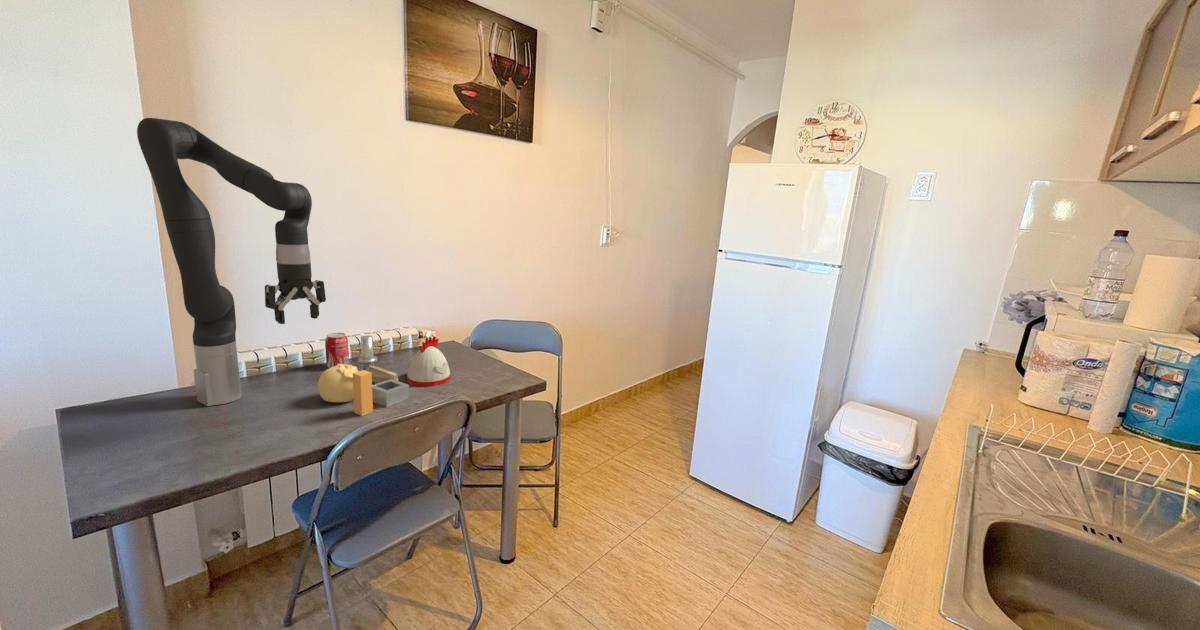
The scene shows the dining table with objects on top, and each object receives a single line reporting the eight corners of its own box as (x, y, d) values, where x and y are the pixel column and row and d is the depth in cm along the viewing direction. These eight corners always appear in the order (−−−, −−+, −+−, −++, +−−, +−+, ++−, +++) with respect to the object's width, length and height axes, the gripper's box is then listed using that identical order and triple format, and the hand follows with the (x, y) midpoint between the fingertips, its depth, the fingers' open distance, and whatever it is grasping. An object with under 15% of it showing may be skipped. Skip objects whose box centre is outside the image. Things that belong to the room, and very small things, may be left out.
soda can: (329, 364, 166) (327, 332, 164) (351, 363, 168) (349, 332, 166) (324, 371, 160) (322, 337, 157) (347, 370, 162) (345, 337, 159)
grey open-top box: (386, 407, 137) (386, 392, 136) (369, 400, 140) (368, 386, 139) (409, 398, 144) (408, 384, 143) (391, 392, 147) (391, 378, 146)
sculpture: (366, 403, 138) (364, 369, 136) (319, 409, 132) (317, 374, 130) (362, 389, 148) (360, 357, 145) (318, 394, 141) (316, 361, 139)
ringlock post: (365, 380, 154) (364, 340, 151) (354, 376, 157) (352, 337, 154) (381, 375, 160) (380, 336, 156) (370, 371, 162) (368, 333, 159)
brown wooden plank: (394, 389, 149) (393, 375, 148) (369, 380, 155) (369, 366, 153) (398, 388, 150) (397, 373, 149) (373, 379, 156) (373, 365, 155)
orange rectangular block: (362, 416, 130) (360, 376, 127) (354, 412, 132) (352, 373, 129) (373, 411, 133) (371, 372, 130) (365, 408, 135) (363, 369, 132)
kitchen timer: (458, 377, 164) (458, 336, 160) (429, 389, 151) (428, 346, 148) (428, 369, 169) (428, 329, 166) (398, 380, 157) (397, 338, 153)
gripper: (272, 264, 114) (277, 328, 117) (329, 261, 126) (332, 318, 129) (255, 261, 117) (261, 323, 121) (312, 257, 129) (316, 314, 133)
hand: (298, 320), depth 125 cm, fingers open, 8 cm apart
